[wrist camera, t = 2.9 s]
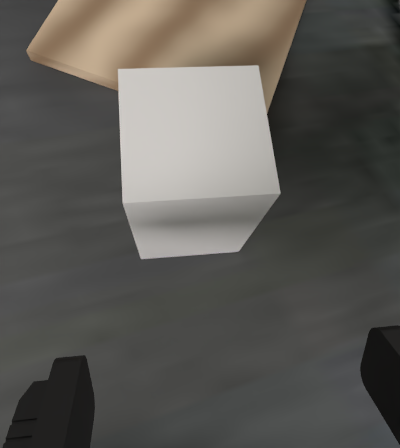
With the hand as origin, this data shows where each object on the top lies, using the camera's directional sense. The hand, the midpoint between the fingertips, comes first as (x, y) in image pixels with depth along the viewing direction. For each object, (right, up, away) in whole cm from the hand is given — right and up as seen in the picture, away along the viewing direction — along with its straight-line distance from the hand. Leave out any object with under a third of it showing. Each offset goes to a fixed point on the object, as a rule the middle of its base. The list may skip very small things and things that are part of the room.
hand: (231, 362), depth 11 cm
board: (-2, +21, +20) cm, 29 cm away
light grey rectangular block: (-2, +5, +15) cm, 16 cm away
